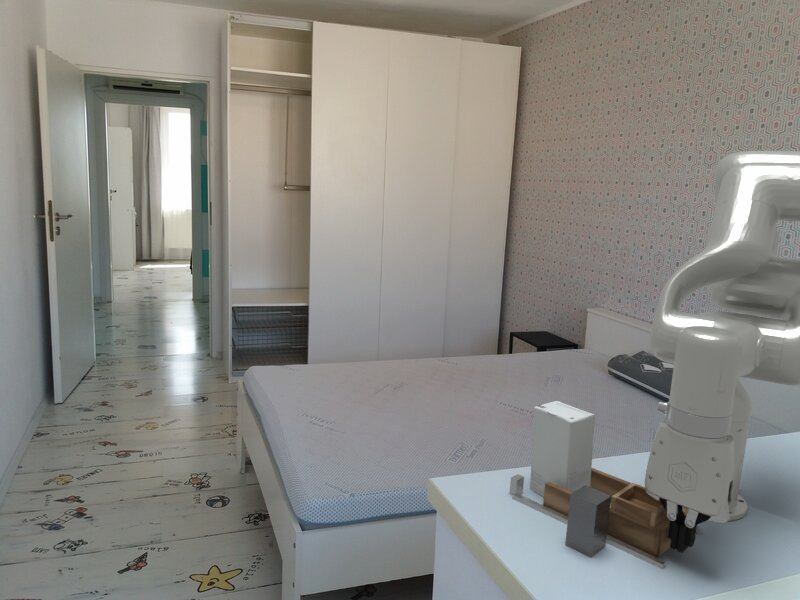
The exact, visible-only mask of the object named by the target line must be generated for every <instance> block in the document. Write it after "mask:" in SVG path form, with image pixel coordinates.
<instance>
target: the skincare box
mask: <svg viewBox="0 0 800 600" xmlns="http://www.w3.org/2000/svg"><path fill="white" fill-rule="evenodd" d="M532 416H533V418H532V436H531V437H532V438H531V459H530V460H531V462H530V480H529V481H530V483H529V489H530V490H531V491H533V492H534V493H536V494H537V495H540V496H541V497H543V498H544V490H545V483H547V482H551V483H553V484H555V485H558V486H560V487H562V488H565V489H567V490H569V491H572V492H575V491H576V490H578V489H580V488H582V487H583V486H585V485H586V486H589V487H590V483H591V468H593V466H592V462H593V448H594V447H593V446H594V432H595V431H594V428H595V416H596V415H595V413H591V412H589V411H585V410H583V409H580V408H577V407H574V406H572V405H570V404H567V403H563V401H562V402H561V401H559V400H555V401H551V402H547V403H544V404H541V405H537V406H536V405H535V406H534V407H533V414H532Z"/></svg>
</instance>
